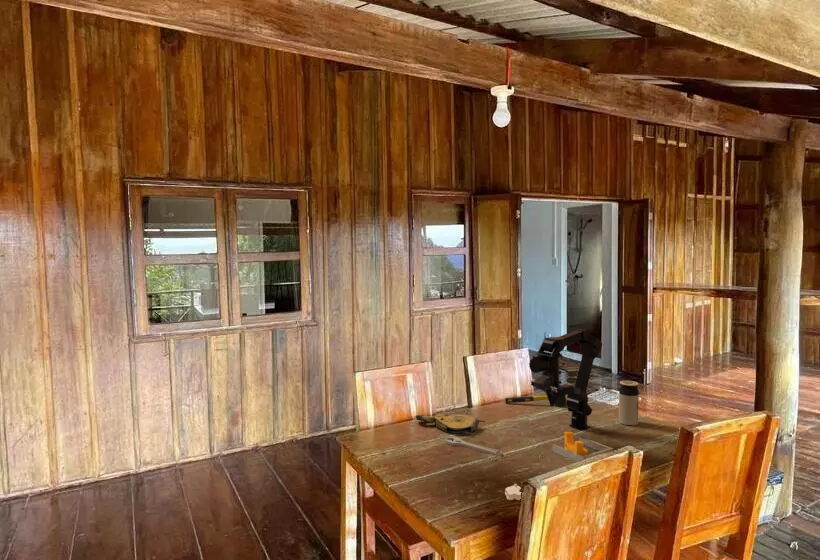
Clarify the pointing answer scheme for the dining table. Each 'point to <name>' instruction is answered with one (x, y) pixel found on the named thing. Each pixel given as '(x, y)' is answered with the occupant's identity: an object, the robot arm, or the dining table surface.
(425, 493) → the dining table surface
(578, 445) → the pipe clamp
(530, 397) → the mallet
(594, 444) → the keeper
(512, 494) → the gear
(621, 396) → the travel mug
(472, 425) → the pulley block
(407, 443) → the dining table surface
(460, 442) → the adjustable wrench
